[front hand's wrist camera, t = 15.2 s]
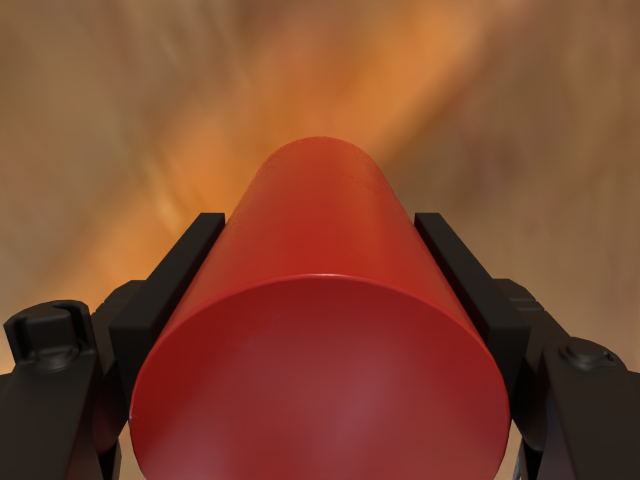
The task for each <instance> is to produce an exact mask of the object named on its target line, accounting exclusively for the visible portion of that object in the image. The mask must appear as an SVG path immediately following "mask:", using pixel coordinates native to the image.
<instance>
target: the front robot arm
mask: <svg viewBox="0 0 640 480" xmlns="http://www.w3.org/2000/svg"><path fill="white" fill-rule="evenodd" d="M414 226H415V228H416V230H417V231H418V233H419V235H420V236H421V238H422V240H423V241H424V243H425V245H426V246H427V248H428V250H429V251H430V253H431V255H432V256H433V258H434V260H435V261H436V263H437V265H438V266H439V268H440V270H441V271H442V273H443V275H444V276H445V278H446V280H447V281H448V283H449V285H450V286H451V288H452V290H453V291H454V293H455V295H456V296H457V298H458V300H459V301H460V303H461V305H462V306H463V308H464V310H465V311H466V313H467V315H468V316H469V318H470V320H471V321H472V323H473V325H474V326H475V328H476V330H477V331H478V333H479V335H480V336H481V338H482V340H483V341H484V343H485V345H486V346H487V348H488V350H489V351H490V353H491V355H492V356H493V358H494V360H495V362H496V364H497V366H498V368H499V370H500V372H501V374H502V377H503V380H504V384H505V387H506V390H507V394H508V401H509V409H510V427H511V422H512V419H513V420H514V422H515V424H516V426H517V428H518V430H519V431H520V433H521V435H522V439H521V444H520V448H519V453H518V457H517V461H516V466H515V470H514V474H513V480H519V479H520V476H521V480H640V373H637V372H632V371H628V370H627V368H626V366H625V364H624V363H623V362H622V361H621V359H620V358H619V357H618V356H617V355H616V354H614V353H613V352H611V351H610V350H608V349H607V348H605V347H603V346H601V345H599V344H596V343H594V342H592V341H589V340H585V339H581V338H577V337H570V336H569V335H568V333H567V332H566V331H565V330H564V329H563V328H562V327H561V326H560V325H559V324H558V323H557V322H556V321H555V319H554V318H553V317H552V316H551V315H550V314H549V313H548V312H547V311H544V308H543V307H542V306H541V304H540V303H539V302H538V301H536V299H535V298H534V297H533V296H532V295H531V294H530V293H529V292H528V291H527V289H526V288H524V287H522V286H521V285H519V284H517V283H515V282H513V281H512V280H510V279H492V277H491V276H490V275H489V274H488V273H487V271H486V270H485V269H484V268H483V266H482V265H481V264H480V263H479V262H478V260H477V259H476V258H475V257H474V255H473V254H472V253H471V252H470V251H469V249H468V248H467V247H466V246H465V244H464V243H463V242H462V241H461V240H460V238H459V237H458V236H457V235H456V233H455V232H454V231H453V230H452V229H451V227H450V226H449V225H448V224H447V222H446V221H445V220H444V219H443V218H442V216H441V215H440V214H439V213H415V220H414ZM224 227H225V213H200V215H199V216H198V217H197V218H196V219H195V221H194V222H193V223H192V224H191V226H190V227H189V228H188V229H187V230H186V232H185V233H184V234H183V235H182V237H181V238H180V239H179V240H178V241H177V243H176V244H175V245H174V246H173V248H172V249H171V250H170V251H169V253H168V254H167V255H166V256H165V257H164V259H163V260H162V261H161V262H160V264H159V265H158V266H157V267H156V268H155V270H154V271H153V272H152V273H151V275H150V276H149V277H148V278H147V279H146V280H131V281H129V282H127V283H125V284H124V285H122V286H120V287H118V288H117V289H115V290H114V291H113V292H112V293H111V294H110V295H109V296H108V297H107V298H106V299H105V301H104V303H102V304H101V305H100V306H99V307H98V308H97V309H96V312H93V314H92V315H91V316H90V312H89V308H88V306H87V305H86V304H84V303H83V302H82V301H76V300H55V301H51V302H46V303H41V304H38V305H35V306H32V307H30V308H27V309H24V310H22V311H21V312H19V313H17V314H15V315H14V316H12V317H11V318H10V319H8V320H7V321H6V322H5V323H4V324H3V326H4V329H5V332H6V336H7V339H8V342H9V345H10V348H11V351H12V354H13V358H14V361H15V364H16V365H15V367H14V369H13V371H12V373H8V374H3V375H0V480H119V474H120V466H121V458H122V455H121V449H120V444H119V439H118V437H119V435H120V433H121V431H122V429H123V427H124V426H125V424H126V422H127V420H128V424H129V428H130V417H129V410H130V403H131V397H132V391H133V388H134V385H135V382H136V379H137V376H138V373H139V371H140V369H141V367H142V365H143V363H144V361H145V359H146V358H147V356H148V354H149V352H150V350H151V349H152V347H153V345H154V344H155V342H156V340H157V339H158V337H159V335H160V334H161V332H162V330H163V329H164V327H165V325H166V324H167V322H168V320H169V319H170V317H171V315H172V314H173V312H174V310H175V309H176V307H177V305H178V304H179V302H180V300H181V299H182V297H183V295H184V294H185V292H186V290H187V289H188V287H189V285H190V284H191V282H192V280H193V279H194V277H195V275H196V274H197V272H198V270H199V269H200V267H201V265H202V264H203V262H204V260H205V259H206V257H207V255H208V254H209V252H210V250H211V248H212V247H213V245H214V243H215V242H216V240H217V238H218V237H219V235H220V233H221V232H222V230H223V228H224ZM510 427H509V431H510Z"/></svg>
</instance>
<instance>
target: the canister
mask: <svg viewBox="0 0 640 480" xmlns="http://www.w3.org/2000/svg"><path fill="white" fill-rule="evenodd" d="M129 417H130V436H131V441H132V446H133V451H134V454H135V457H136V459H137V462H138V465H139V467H140V470H141V472H142V473H143V475H144V477H145V479H146V480H493V479H494V477H495V476H496V474H497V472H498V470H499V468H500V465H501V463H502V460H503V458H504V455H505V451H506V447H507V443H508V438H509V427H510V409H509V401H508V394H507V390H506V387H505V384H504V380H503V377H502V374H501V372H500V370H499V368H498V366H497V364H496V362H495V360H494V358H493V356H492V355H491V353H490V351H489V350H488V348H487V346H486V345H485V343H484V341H483V340H482V338H481V336H480V335H479V333H478V331H477V330H476V328H475V326H474V325H473V323H472V321H471V320H470V318H469V316H468V315H467V313H466V311H465V310H464V308H463V306H462V305H461V303H460V301H459V300H458V298H457V296H456V295H455V293H454V291H453V290H452V288H451V286H450V285H449V283H448V281H447V280H446V278H445V276H444V275H443V273H442V271H441V270H440V268H439V266H438V265H437V263H436V261H435V260H434V258H433V256H432V255H431V253H430V251H429V250H428V248H427V246H426V245H425V243H424V241H423V240H422V238H421V236H420V235H419V233H418V231H417V230H416V228H415V226H414V225H413V223H412V221H411V220H410V218H409V216H408V215H407V213H406V211H405V210H404V208H403V206H402V205H401V203H400V201H399V200H398V198H397V196H396V195H395V193H394V191H393V190H392V188H391V186H390V185H389V183H388V181H387V180H386V178H385V176H384V175H383V173H382V171H381V170H380V168H379V167H378V165H377V164H376V163H375V162H374V161H373V160H372V158H371V157H370V156H369V155H367V154H366V153H365V152H364V151H362V150H361V149H359V148H358V147H356V146H354V145H353V144H350V143H348V142H346V141H343V140H339V139H336V138H330V137H310V138H304V139H300V140H296V141H294V142H291V143H289V144H287V145H285V146H283V147H281V148H280V149H278V150H277V151H276V152H274V153H273V154H272V155H271V156H270V157H269V158H268V159H267V160H266V161H265V162H264V163H263V164H262V166H261V167H260V168H259V170H258V172H257V173H256V175H255V177H254V178H253V180H252V182H251V183H250V185H249V187H248V188H247V190H246V192H245V193H244V195H243V197H242V198H241V200H240V202H239V203H238V205H237V207H236V208H235V210H234V212H233V213H232V215H231V217H230V218H229V220H228V222H227V223H226V225H225V227H224V228H223V230H222V232H221V233H220V235H219V237H218V238H217V240H216V242H215V243H214V245H213V247H212V248H211V250H210V252H209V254H208V255H207V257H206V259H205V260H204V262H203V264H202V265H201V267H200V269H199V270H198V272H197V274H196V275H195V277H194V279H193V280H192V282H191V284H190V285H189V287H188V289H187V290H186V292H185V294H184V295H183V297H182V299H181V300H180V302H179V304H178V305H177V307H176V309H175V310H174V312H173V314H172V315H171V317H170V319H169V320H168V322H167V324H166V325H165V327H164V329H163V330H162V332H161V334H160V335H159V337H158V339H157V340H156V342H155V344H154V345H153V347H152V349H151V350H150V352H149V354H148V356H147V358H146V359H145V361H144V363H143V365H142V367H141V369H140V371H139V373H138V376H137V379H136V382H135V385H134V388H133V391H132V397H131V403H130V410H129Z"/></svg>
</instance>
